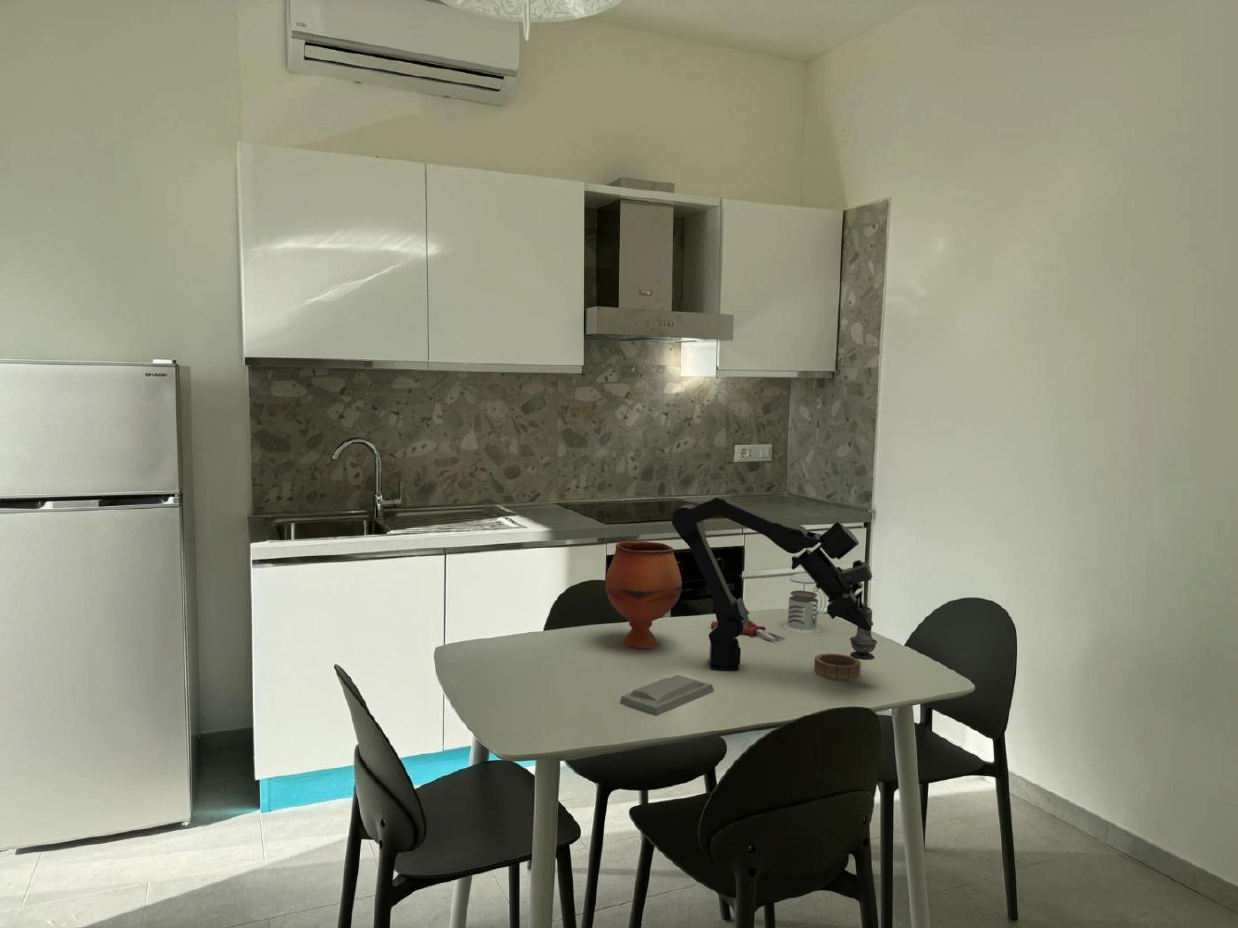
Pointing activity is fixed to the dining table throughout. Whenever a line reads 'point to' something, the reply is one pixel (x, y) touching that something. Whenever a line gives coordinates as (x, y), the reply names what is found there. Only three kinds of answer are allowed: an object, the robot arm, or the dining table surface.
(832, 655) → the shaker socket
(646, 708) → the grey stepped rectangular block
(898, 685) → the dining table surface
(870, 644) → the salt shaker
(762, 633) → the pliers
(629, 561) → the goblet
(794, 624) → the french press
